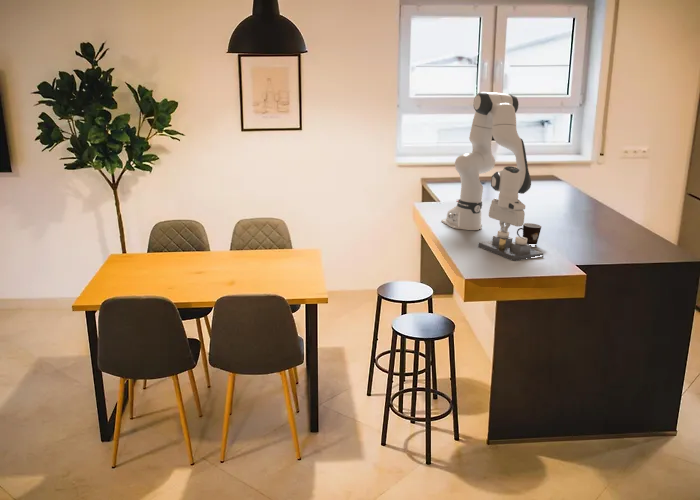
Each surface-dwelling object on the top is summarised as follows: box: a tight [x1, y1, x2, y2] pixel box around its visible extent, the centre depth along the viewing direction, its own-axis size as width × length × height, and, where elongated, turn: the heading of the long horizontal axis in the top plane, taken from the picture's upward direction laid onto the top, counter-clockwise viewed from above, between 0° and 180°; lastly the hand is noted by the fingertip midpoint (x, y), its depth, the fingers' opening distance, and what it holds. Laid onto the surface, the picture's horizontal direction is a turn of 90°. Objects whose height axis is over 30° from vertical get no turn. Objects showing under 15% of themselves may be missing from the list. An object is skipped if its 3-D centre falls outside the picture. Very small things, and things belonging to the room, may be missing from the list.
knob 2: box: [514, 236, 527, 245], centre depth 328 cm, size 5×5×6 cm
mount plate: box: [477, 235, 544, 262], centre depth 334 cm, size 24×18×6 cm
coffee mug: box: [516, 222, 542, 245], centre depth 348 cm, size 12×9×10 cm
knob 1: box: [496, 229, 510, 238], centre depth 338 cm, size 5×5×6 cm
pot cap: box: [499, 238, 506, 250], centre depth 331 cm, size 3×3×5 cm
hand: (503, 231), depth 337 cm, fingers closed, pressing on knob 1
